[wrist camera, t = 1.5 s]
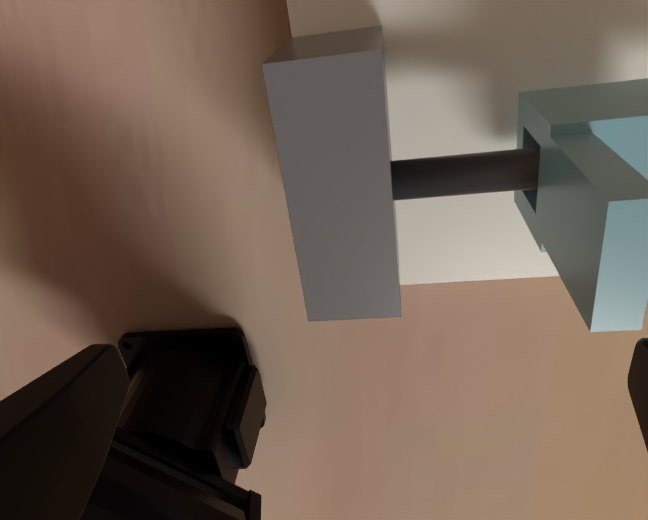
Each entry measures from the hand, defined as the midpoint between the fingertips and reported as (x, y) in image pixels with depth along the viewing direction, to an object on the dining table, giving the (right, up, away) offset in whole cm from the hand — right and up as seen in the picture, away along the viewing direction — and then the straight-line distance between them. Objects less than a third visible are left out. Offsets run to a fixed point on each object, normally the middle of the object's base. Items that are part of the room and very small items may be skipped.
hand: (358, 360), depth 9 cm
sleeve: (+8, +5, +7) cm, 12 cm away
